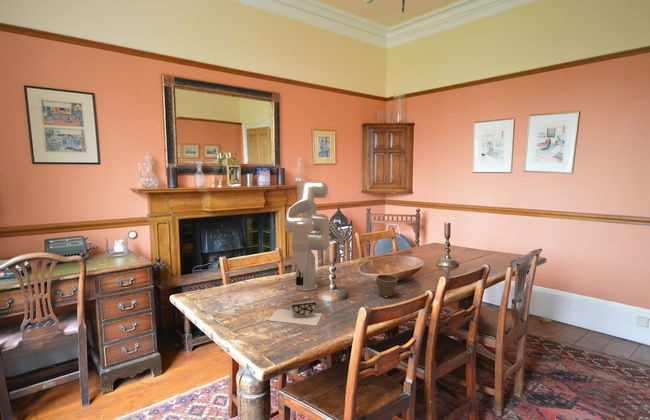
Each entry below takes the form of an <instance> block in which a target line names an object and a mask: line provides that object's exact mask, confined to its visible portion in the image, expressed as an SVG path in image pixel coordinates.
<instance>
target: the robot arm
mask: <svg viewBox="0 0 650 420" xmlns="http://www.w3.org/2000/svg"><path fill="white" fill-rule="evenodd" d="M296 191H297V200H296V202H294V203H293V204H291V206H290V207H288V209H287V210H286V213H285V218H284V224H283V225H284V226H283V227H284V229H285V231H286V233H289V234H290V233H292V234H291V251H292V259H291V260H292V261H291V272H292V273H294V272H295V287H294V288H295V289H296V290H298V291H301V292H302V291H303V292H312V291H315V290H317V289H318V284H317V283H316V256H315V254H314V252H313V251H326V250H328V249H329V244H330V243H329V242H330V241H329V240H330V239H329V236H330V235H329V234H330V219H329V217H328V215H326V214H321V213H320V214H318V213H317V205H316V202H315V199H326V198H327V196H328V193H329V187H328V184H327V183H326V182H323V181H304V182H300V183H298V184H297V185H296ZM297 215H301V216H299V217H297ZM313 232H314V233H313ZM317 232H319V233H317Z"/></svg>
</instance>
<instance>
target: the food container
mask: <svg viewBox="0 0 650 420" xmlns="http://www.w3.org/2000/svg"><path fill="white" fill-rule="evenodd" d="M317 304H318V301H315V300H314V299H312V298H307V299H298V300H297V299H296V300H292V301H291V304H290V308H291V309H290V310H292V311H293V312H294V313H295V314H296V315H298V316H303V317H304V316H308V315H310V314H312V313H315V310H316V308H317V306H318V305H317Z"/></svg>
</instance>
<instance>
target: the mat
mask: <svg viewBox="0 0 650 420" xmlns="http://www.w3.org/2000/svg"><path fill="white" fill-rule="evenodd" d="M322 315H323V313H322V312H321V313H320V312H319V313H318V312H313V313H312V314H310V315H308V316H304V317H303V316H298V315H296V314H295V313H294V312H293V311H292V309H283V308H282V309H281V308H276V310H275V311H274V313H273V314H272V315H271V316H270V318H268V322H275V323H276V322H277V323H285V324H292V325H293V324H294V325H303V326H312V327H318V326H317V325H318V323H319V321H320V320H321V317H322Z"/></svg>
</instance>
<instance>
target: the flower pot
mask: <svg viewBox="0 0 650 420" xmlns="http://www.w3.org/2000/svg"><path fill="white" fill-rule="evenodd" d="M375 277H376V283H377V288H378V293H379V296H380V295H382V296H391V295H392V296H393V293H394V291H395V288H396V285H397V284H398V280H399V279H398V278H397V277H396V276H393V275H390V274H378V275H377V276H375ZM382 296H381V297H382ZM392 296H391V297H392Z"/></svg>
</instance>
